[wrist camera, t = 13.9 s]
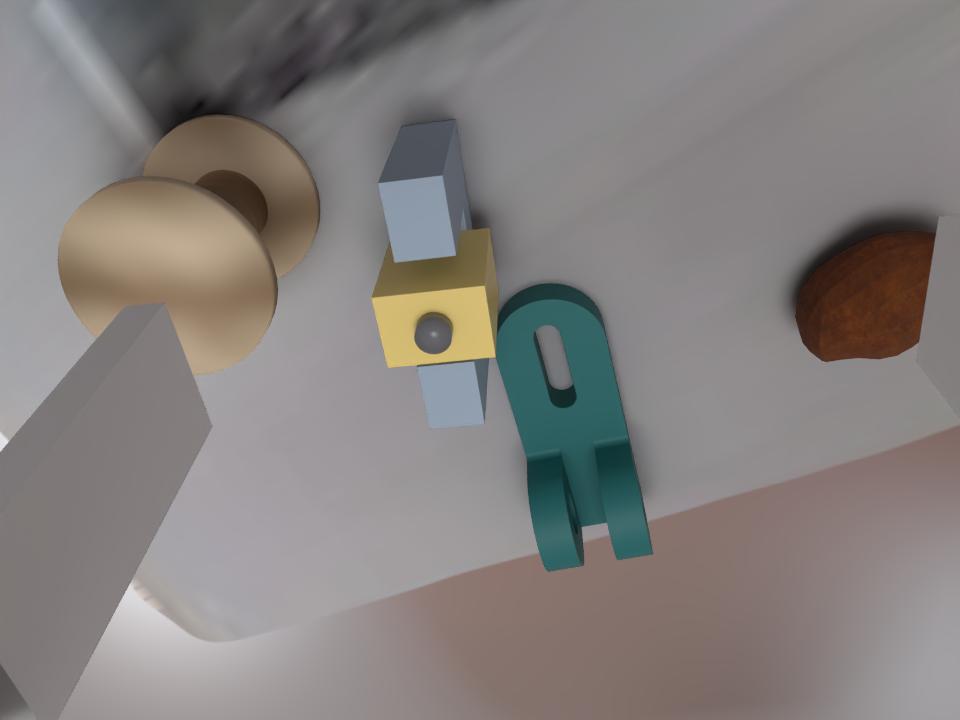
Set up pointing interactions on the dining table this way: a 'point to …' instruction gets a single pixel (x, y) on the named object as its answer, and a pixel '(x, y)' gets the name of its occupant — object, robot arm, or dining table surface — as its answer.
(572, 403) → the bracket
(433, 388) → the notch board
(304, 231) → the bobbin
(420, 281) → the yellow block
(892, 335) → the potato
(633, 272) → the dining table surface
